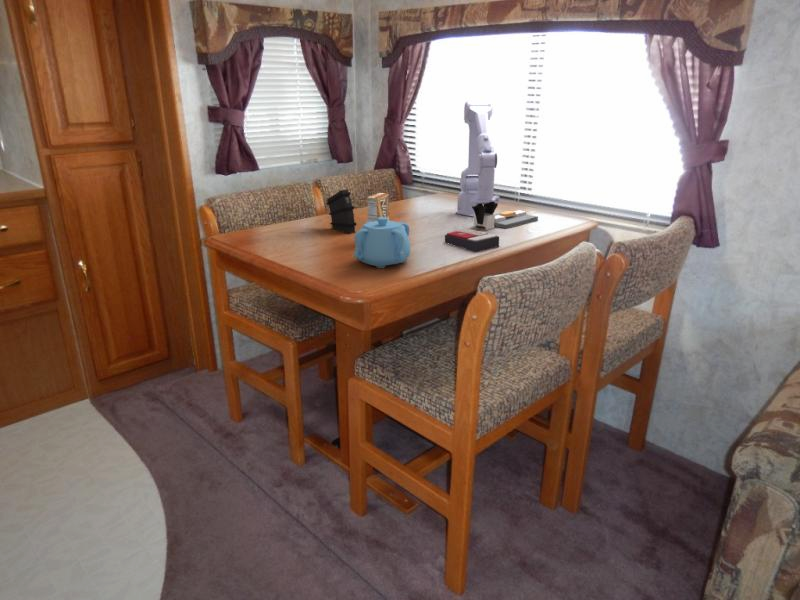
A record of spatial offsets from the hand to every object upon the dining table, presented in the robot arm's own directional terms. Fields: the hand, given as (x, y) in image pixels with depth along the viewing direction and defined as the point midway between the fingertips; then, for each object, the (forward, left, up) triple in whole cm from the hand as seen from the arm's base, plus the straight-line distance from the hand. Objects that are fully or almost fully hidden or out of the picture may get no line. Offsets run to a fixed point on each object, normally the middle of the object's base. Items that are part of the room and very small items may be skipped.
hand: (483, 223), depth 210 cm
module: (0, 0, -2) cm, 2 cm away
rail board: (0, +14, -2) cm, 14 cm away
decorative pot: (+8, -56, -2) cm, 57 cm away
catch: (0, +14, +1) cm, 14 cm away
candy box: (-13, -40, -2) cm, 42 cm away
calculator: (+12, -21, -2) cm, 25 cm away
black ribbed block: (-33, -41, -2) cm, 53 cm away
